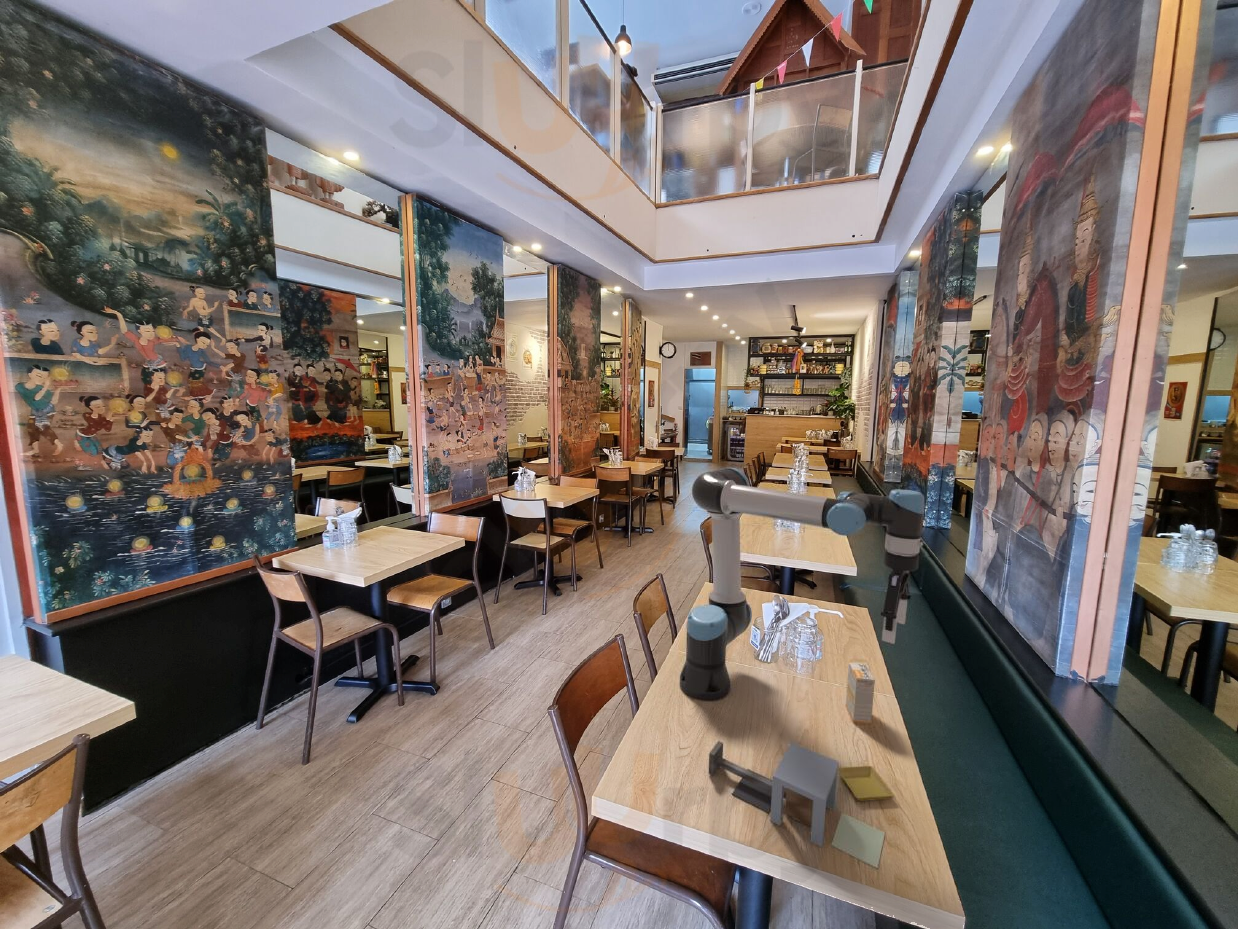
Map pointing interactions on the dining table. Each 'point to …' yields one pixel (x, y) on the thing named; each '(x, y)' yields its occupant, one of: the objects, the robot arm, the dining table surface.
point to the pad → (859, 840)
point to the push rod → (763, 785)
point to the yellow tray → (865, 783)
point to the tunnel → (806, 785)
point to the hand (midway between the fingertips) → (893, 631)
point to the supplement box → (860, 693)
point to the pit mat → (753, 794)
